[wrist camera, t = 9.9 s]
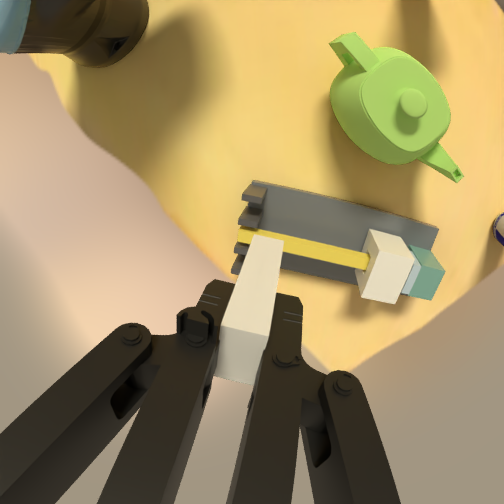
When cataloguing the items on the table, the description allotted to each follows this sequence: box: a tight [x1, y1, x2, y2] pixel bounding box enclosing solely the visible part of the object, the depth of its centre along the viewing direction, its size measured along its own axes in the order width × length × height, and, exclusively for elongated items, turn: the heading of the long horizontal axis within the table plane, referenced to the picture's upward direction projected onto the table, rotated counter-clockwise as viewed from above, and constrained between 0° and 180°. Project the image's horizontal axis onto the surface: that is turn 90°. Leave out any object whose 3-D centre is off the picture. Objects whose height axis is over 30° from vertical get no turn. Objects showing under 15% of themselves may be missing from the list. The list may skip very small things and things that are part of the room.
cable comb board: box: [231, 180, 445, 300], centre depth 38 cm, size 28×12×7 cm, turn 81°
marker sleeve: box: [355, 229, 415, 304], centre depth 36 cm, size 5×7×7 cm
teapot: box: [329, 32, 464, 183], centre depth 26 cm, size 20×13×13 cm
